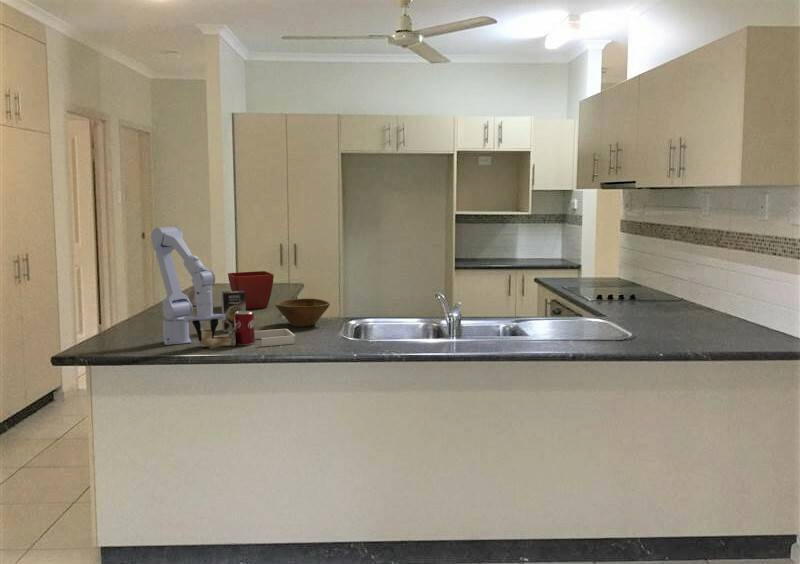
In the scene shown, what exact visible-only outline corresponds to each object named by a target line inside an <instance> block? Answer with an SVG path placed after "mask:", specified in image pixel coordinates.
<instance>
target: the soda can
mask: <svg viewBox="0 0 800 564" xmlns="http://www.w3.org/2000/svg"><path fill="white" fill-rule="evenodd" d="M234 329H235V331H234V334H235V336H236V346H250V345H253V344H255V342H256V341H255V340H256V339H255V333H254V331H255V313H254V312H253V311H250V310H246V311H238V312H235V314H234Z"/></svg>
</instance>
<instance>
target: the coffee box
mask: <svg viewBox="0 0 800 564" xmlns="http://www.w3.org/2000/svg"><path fill="white" fill-rule="evenodd" d="M220 294H221V314H225V315H226V320H221V324H222V325H221V328H222V332H223V333H229V331H232V332H235V329H234V314H235V312H238V311H247V309H246V301H245V292H244V291H231V290H228V291H227V290H226V291H221V293H220Z"/></svg>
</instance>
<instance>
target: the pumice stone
mask: <svg viewBox="0 0 800 564" xmlns="http://www.w3.org/2000/svg"><path fill="white" fill-rule="evenodd" d="M187 296H188V298H189V301H190V302H191V304H192V306H196V292H195V290H194V287H193V288H192V289H191V291H190V293H189V295H187ZM196 307H197V306H196Z"/></svg>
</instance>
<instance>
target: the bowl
mask: <svg viewBox="0 0 800 564" xmlns="http://www.w3.org/2000/svg"><path fill="white" fill-rule="evenodd" d="M274 305H275V307H276V308H277V310H279V312H280V313H281V314H282V316H283V317H284V318H285V319H286V321H288V322H289V323H290V325H291V326H293V327H300V328H302V327H304V328H305V326H307V327H311V325H312V326H315V324H317V323H318V321H319V320H320V319H321V317H322V316H323V315H324V313H325V312H327V310H328V309H329V307H330V305H331V303H330V301H327V300H324V299H320V298H319V299H318V298H309V297H308V298H292V299H291V298H290V299H284V300H281V301H277V302H276V303H275V304H274Z"/></svg>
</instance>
